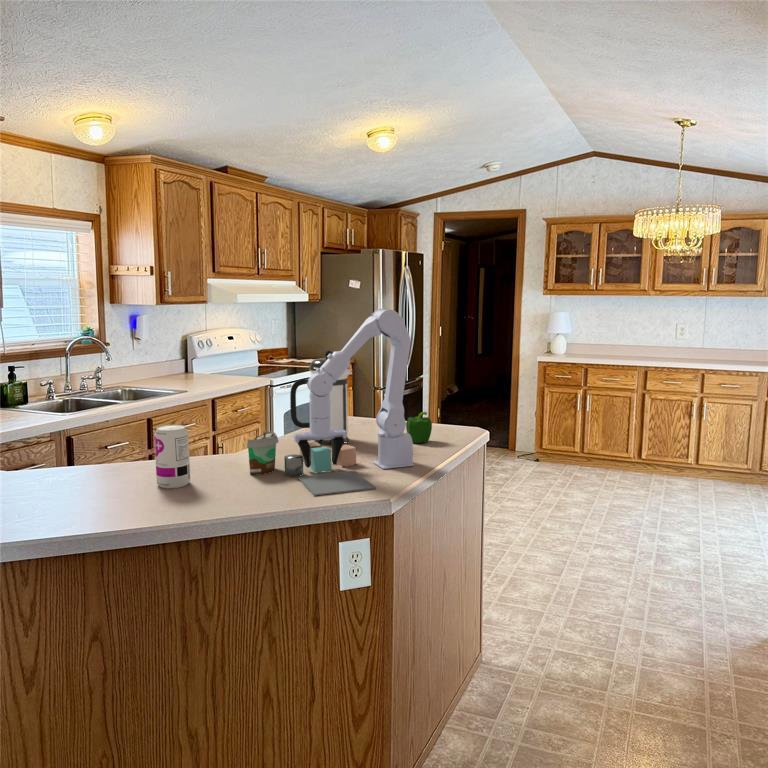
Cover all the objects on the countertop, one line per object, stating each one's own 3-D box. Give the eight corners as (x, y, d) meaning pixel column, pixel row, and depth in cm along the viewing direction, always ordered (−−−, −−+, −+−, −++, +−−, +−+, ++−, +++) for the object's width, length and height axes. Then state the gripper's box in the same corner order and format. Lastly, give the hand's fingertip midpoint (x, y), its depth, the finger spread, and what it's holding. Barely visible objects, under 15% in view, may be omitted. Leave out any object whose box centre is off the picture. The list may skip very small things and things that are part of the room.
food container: (269, 477, 178) (268, 441, 177) (248, 476, 179) (246, 440, 178) (285, 465, 190) (284, 431, 189) (265, 464, 191) (264, 430, 190)
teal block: (326, 467, 188) (326, 446, 187) (331, 471, 184) (330, 450, 183) (311, 469, 186) (310, 448, 186) (315, 473, 182) (315, 451, 181)
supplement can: (160, 491, 167) (157, 432, 165) (154, 482, 174) (151, 426, 172) (193, 486, 170) (190, 428, 168) (186, 478, 178) (184, 423, 176)
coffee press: (324, 433, 231) (323, 347, 227) (361, 439, 222) (360, 349, 218) (289, 443, 217) (287, 351, 213) (327, 450, 208) (325, 354, 204)
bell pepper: (402, 443, 216) (402, 413, 215) (411, 438, 224) (411, 409, 222) (426, 445, 213) (427, 415, 212) (435, 440, 221) (435, 410, 219)
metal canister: (301, 471, 184) (300, 453, 183) (305, 476, 179) (304, 458, 179) (283, 473, 182) (282, 455, 182) (286, 477, 178) (286, 459, 177)
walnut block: (316, 458, 199) (316, 441, 198) (321, 462, 194) (321, 445, 193) (300, 459, 197) (300, 443, 196) (304, 464, 192) (304, 447, 191)
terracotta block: (346, 461, 195) (346, 444, 194) (356, 464, 191) (356, 447, 190) (332, 463, 192) (331, 446, 192) (341, 467, 188) (341, 450, 188)
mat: (355, 472, 182) (355, 470, 182) (375, 489, 168) (375, 487, 168) (298, 478, 177) (298, 477, 177) (314, 496, 162) (313, 494, 162)
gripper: (341, 412, 189) (341, 459, 191) (290, 416, 184) (291, 464, 186) (348, 417, 183) (349, 465, 185) (296, 421, 178) (298, 470, 180)
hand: (321, 465), depth 185 cm, fingers open, 7 cm apart
